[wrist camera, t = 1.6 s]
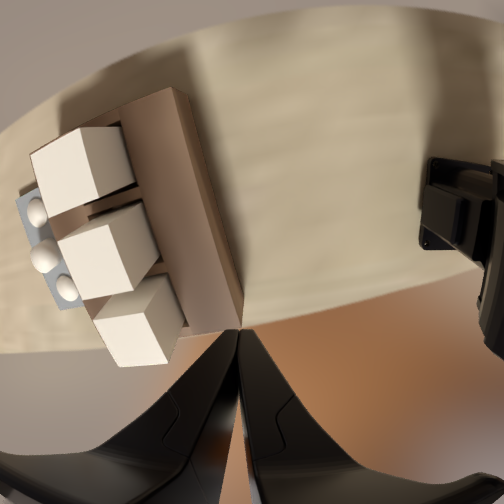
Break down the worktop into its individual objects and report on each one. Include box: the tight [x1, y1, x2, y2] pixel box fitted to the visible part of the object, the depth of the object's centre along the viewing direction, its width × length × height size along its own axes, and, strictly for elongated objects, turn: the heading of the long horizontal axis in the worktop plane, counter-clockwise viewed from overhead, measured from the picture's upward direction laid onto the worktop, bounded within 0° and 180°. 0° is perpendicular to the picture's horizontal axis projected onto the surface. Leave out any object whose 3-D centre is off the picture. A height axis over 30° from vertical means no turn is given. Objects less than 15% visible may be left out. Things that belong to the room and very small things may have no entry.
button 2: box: [93, 272, 186, 367], centre depth 16 cm, size 3×3×5 cm
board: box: [30, 87, 244, 345], centre depth 18 cm, size 10×14×4 cm
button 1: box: [30, 127, 137, 218], centre depth 13 cm, size 3×3×5 cm
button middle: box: [57, 201, 161, 300], centre depth 15 cm, size 3×3×5 cm
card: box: [15, 188, 84, 310], centre depth 19 cm, size 4×10×2 cm, turn 14°
